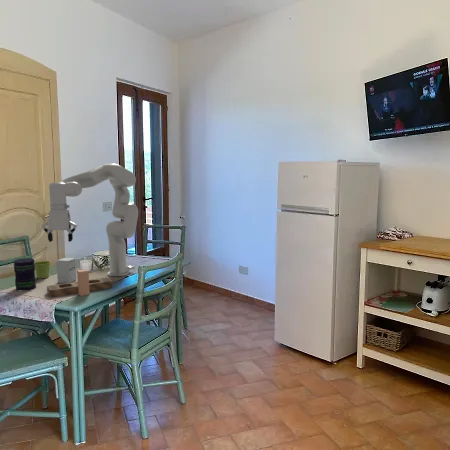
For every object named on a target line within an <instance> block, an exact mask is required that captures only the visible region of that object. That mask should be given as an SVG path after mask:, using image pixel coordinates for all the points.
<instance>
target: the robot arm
mask: <svg viewBox="0 0 450 450" xmlns="http://www.w3.org/2000/svg"><path fill="white" fill-rule="evenodd" d="M107 180H109V183H110V184H111V186H112V188H113V189H114V193H115V195H114V201H113V206H112V212H111V213H112V216H113V218H115V219H119V220H112V221H109V222H108V223H107V225H106V228H105V231H106V235H107V240H108V254H109V256H108V259H109V271H107V273H106V274H107V276H109V277H124V276H127V275H129V274H130V270H135V265H127V250H126V249H127V247H126V241H125V239H131V238H132V237H134V235H135V232H136V230H137V223H138V219H139V209H138V206H137V205H136V204H134V203H131V202H130V199H131V195H130V194H131V193H130V191H129V188H131V187H134V185H136V182H137V179H136V175H135V174H134V173H133V172H132V171H130V170H128V169H127V168H125V167H123V166H121V165H120V164H117V163H103V164H101V165H98V166H96V167H94V168H92V169H90V170H87V171H85V172H82V173H78V174H76V175H72V176H70V177H66V178H65V179H62V180H60V181H59V182H51V183H50V184H48V185H49V186H48V189H49V203H50V204H49V205H50V206H49V207H50V209H49V210H48V211H49V212H48V218H47V219H48V221H47V222H45V223H44V224H42V225H41V228H42V229H43V231H44V232H45V233H46V234H47V240H48V242H49V243H51V242H53V240H54V239H53V237H54V236H53V232H54V231H67V232H68V234H67V237H68V238H67V239H68V242H72V241H73V237H74V236H73V233H74V232H75V231H76V230H77V228H78V224H77V223H75V222H73V221H72V220H71V214H70V210H69V208H70V205H69V204H67V197H73V198H74V197H78V196H80V194H82V191H83V189H88V188H92V187H95V186H97V185H99V184H101V183H103V182H105V181H107ZM47 226H48V228H47Z"/></svg>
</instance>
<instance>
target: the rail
mask: <svg viewBox="0 0 450 450" xmlns="http://www.w3.org/2000/svg"><path fill="white" fill-rule="evenodd" d="M112 285H113V284H112V280H111V279H110V278H108V277H100V278H93V279H89V291H90V292H92V291H93V292H94V291H99V290H105V289H111V288H112ZM46 290H47V292H46V293H47V294H48V296H49V297H50V298H54V297H61V296H67V295H73V294H78V281H73V282H70V283H58V284H54V285H53V284H52V285H51V284H50V285H47V286H46Z"/></svg>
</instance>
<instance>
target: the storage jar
mask: <svg viewBox="0 0 450 450" xmlns="http://www.w3.org/2000/svg"><path fill="white" fill-rule="evenodd" d="M34 263H35V259H34V258H30V257H28V258H27V257H26V258H19V259H15V260H14V261H13V270H14V271H13V272H14V274H15V275H14V277H15V278H14V281H15V283H14V284H15V290H16V291H17V290H28V291H32V290H35V289H36V288H37V284H36V283H37V279H36V274H35V273H36V270H35V264H34ZM31 289H32V290H31Z"/></svg>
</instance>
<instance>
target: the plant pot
mask: <svg viewBox="0 0 450 450" xmlns="http://www.w3.org/2000/svg"><path fill="white" fill-rule="evenodd" d="M51 263H52V262H51V261H49V260H41V261H36V262H35V261H34V264H35V273H36V274H35V276H36V277H37V279H43V278H44V279H48V278H49V277H50V267H51V266H50V265H51Z"/></svg>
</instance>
